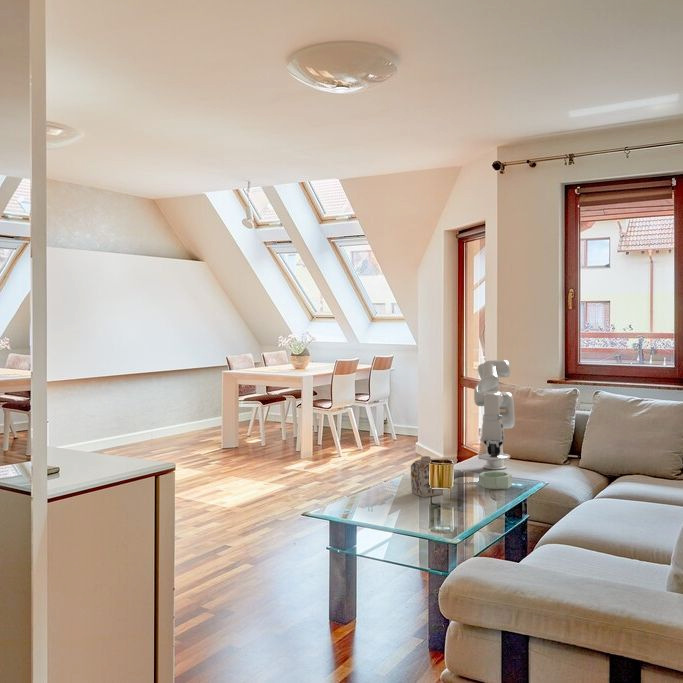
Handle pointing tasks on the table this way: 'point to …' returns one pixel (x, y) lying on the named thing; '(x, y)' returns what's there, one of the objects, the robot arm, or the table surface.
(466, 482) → the mat
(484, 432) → the robot arm
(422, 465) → the decorative jar
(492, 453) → the lid
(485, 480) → the bowl
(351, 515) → the table surface
